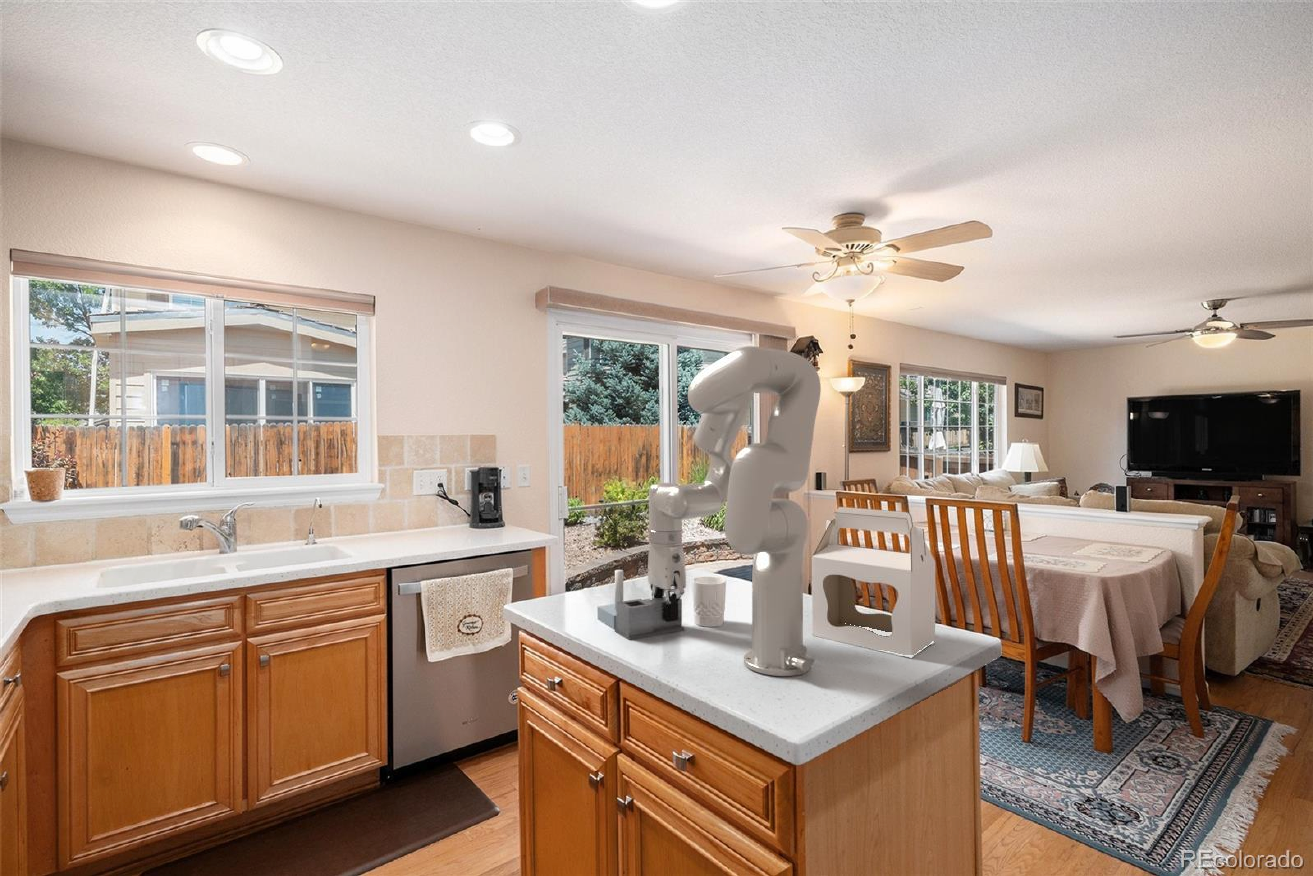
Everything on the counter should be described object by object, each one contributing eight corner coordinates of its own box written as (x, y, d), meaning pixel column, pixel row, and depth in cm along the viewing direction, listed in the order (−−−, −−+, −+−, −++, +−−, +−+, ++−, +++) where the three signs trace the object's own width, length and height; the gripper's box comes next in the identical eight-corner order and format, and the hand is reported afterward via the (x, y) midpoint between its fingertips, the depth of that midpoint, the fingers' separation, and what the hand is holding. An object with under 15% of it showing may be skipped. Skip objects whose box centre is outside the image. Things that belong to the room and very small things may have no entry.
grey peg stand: (613, 629, 143) (613, 576, 143) (597, 619, 151) (597, 568, 151) (659, 621, 149) (660, 570, 149) (641, 612, 157) (642, 563, 157)
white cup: (725, 618, 152) (726, 577, 152) (726, 628, 144) (726, 584, 144) (692, 617, 153) (692, 576, 153) (691, 627, 145) (691, 583, 145)
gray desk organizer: (628, 636, 136) (628, 608, 136) (616, 629, 141) (616, 602, 141) (684, 627, 143) (684, 600, 143) (670, 620, 148) (670, 594, 148)
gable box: (810, 635, 139) (810, 508, 139) (838, 622, 149) (838, 503, 149) (913, 659, 124) (913, 516, 124) (936, 643, 134) (936, 510, 134)
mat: (684, 630, 143) (684, 627, 143) (628, 640, 136) (628, 637, 136) (668, 622, 149) (668, 619, 149) (614, 631, 142) (614, 628, 142)
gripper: (699, 541, 139) (699, 625, 139) (661, 531, 153) (661, 607, 153) (670, 544, 135) (670, 630, 135) (633, 533, 150) (633, 611, 150)
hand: (665, 617), depth 144 cm, fingers open, 4 cm apart
